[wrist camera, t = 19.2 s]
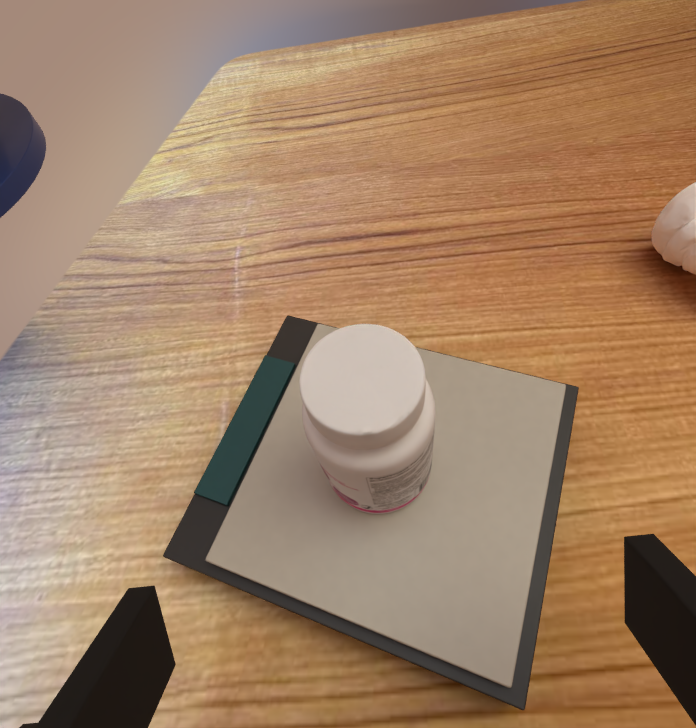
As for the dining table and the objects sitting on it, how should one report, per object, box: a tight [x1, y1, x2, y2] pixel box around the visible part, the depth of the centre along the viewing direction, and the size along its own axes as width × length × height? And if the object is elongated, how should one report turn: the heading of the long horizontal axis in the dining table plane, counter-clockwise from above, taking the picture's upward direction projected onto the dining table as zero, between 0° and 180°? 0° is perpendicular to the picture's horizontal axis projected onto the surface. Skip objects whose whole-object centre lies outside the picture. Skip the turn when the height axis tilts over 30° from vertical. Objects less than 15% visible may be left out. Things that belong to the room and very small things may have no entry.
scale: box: [163, 316, 579, 710], centre depth 24 cm, size 16×14×3 cm
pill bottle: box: [299, 324, 436, 514], centre depth 19 cm, size 5×5×8 cm
